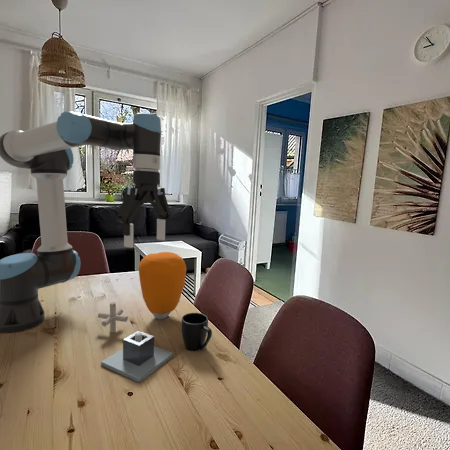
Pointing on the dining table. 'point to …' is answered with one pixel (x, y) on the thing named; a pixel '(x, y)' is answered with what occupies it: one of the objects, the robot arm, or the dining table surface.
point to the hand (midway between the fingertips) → (145, 243)
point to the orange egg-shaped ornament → (162, 282)
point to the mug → (195, 331)
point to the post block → (134, 371)
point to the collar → (138, 348)
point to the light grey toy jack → (112, 317)
